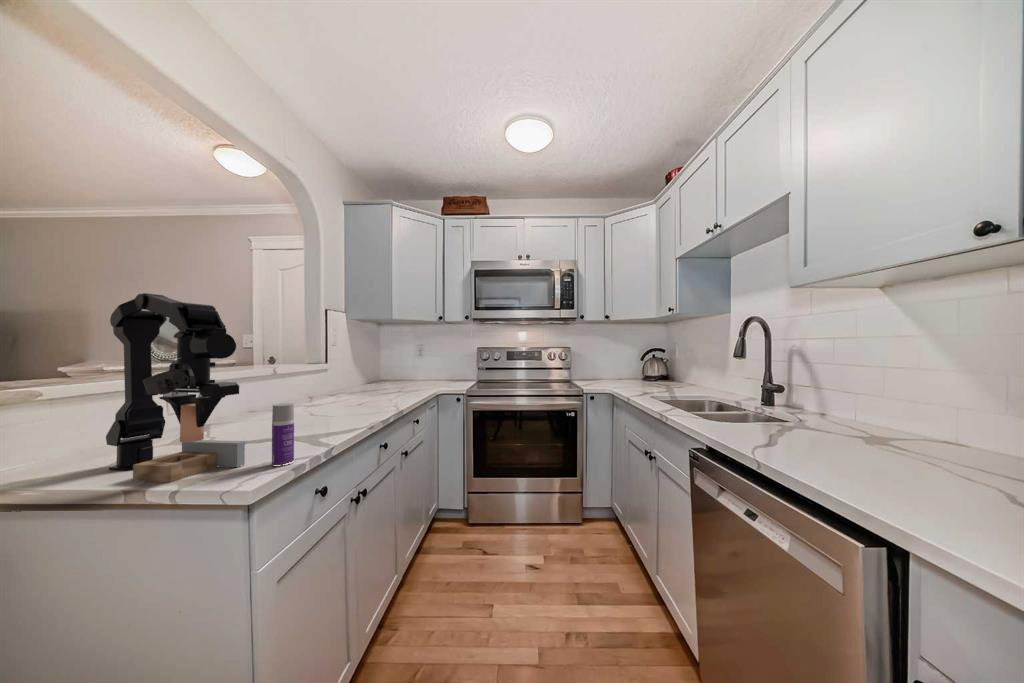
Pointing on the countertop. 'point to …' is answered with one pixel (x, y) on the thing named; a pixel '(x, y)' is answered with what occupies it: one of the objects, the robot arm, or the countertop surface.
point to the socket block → (174, 466)
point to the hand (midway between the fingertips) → (192, 426)
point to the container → (282, 433)
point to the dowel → (190, 424)
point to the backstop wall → (219, 451)
